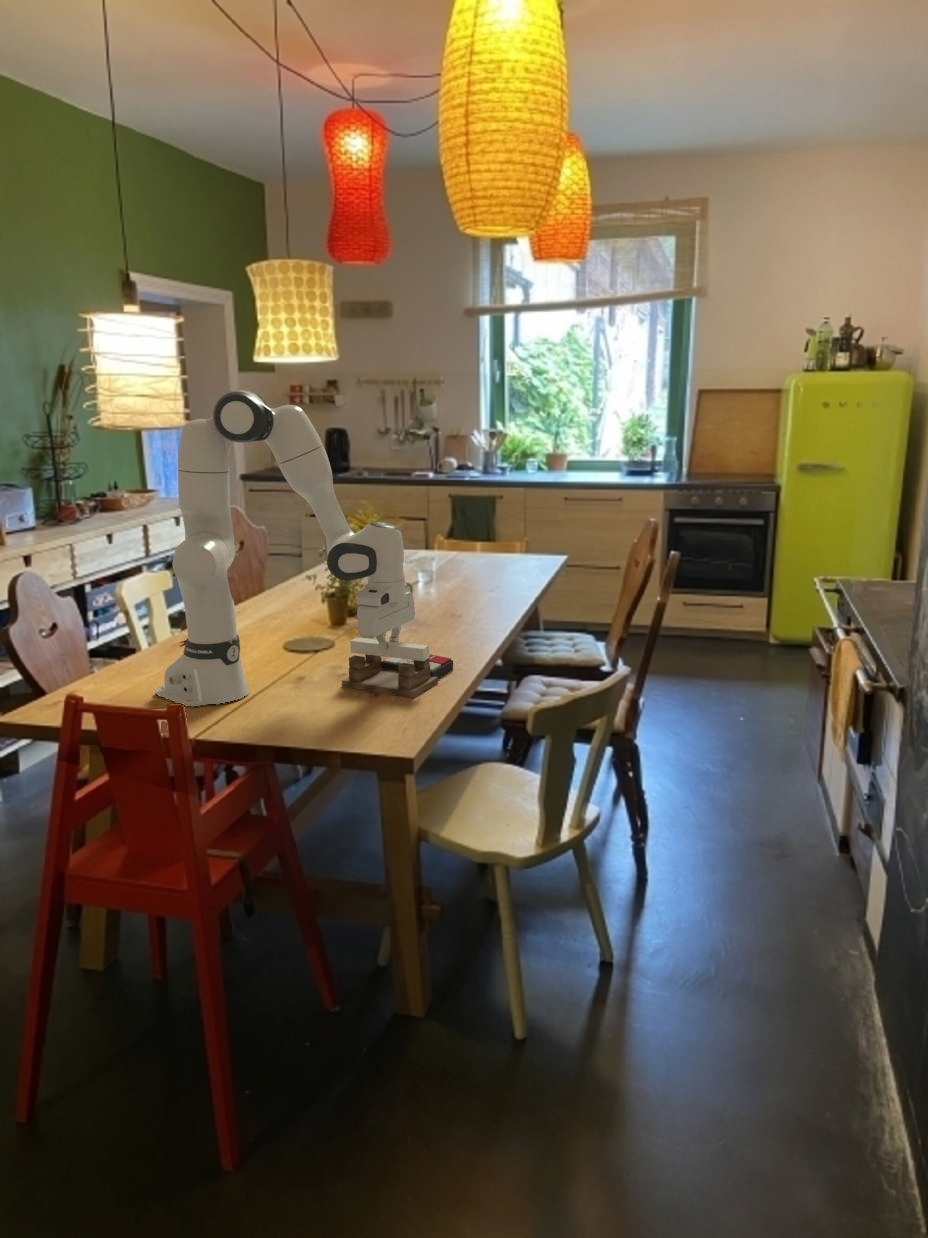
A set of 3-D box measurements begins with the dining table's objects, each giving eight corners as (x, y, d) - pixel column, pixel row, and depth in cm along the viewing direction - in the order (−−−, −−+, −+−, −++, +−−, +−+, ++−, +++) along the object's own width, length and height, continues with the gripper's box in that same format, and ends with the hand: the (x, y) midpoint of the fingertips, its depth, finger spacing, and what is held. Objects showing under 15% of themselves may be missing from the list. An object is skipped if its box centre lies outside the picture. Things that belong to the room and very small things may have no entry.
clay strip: (350, 652, 216) (350, 640, 215) (357, 649, 218) (356, 637, 217) (423, 661, 207) (423, 649, 207) (429, 657, 210) (428, 645, 209)
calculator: (432, 669, 215) (380, 658, 222) (432, 686, 216) (380, 674, 223) (454, 657, 224) (403, 647, 231) (453, 673, 226) (403, 662, 232)
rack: (342, 686, 214) (340, 658, 212) (369, 672, 224) (368, 645, 223) (412, 698, 205) (411, 669, 203) (438, 683, 215) (437, 655, 214)
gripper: (398, 580, 219) (400, 634, 223) (351, 598, 202) (354, 656, 205) (420, 583, 216) (422, 637, 220) (374, 601, 199) (377, 659, 202)
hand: (389, 646), depth 212 cm, fingers closed on clay strip, 3 cm apart
